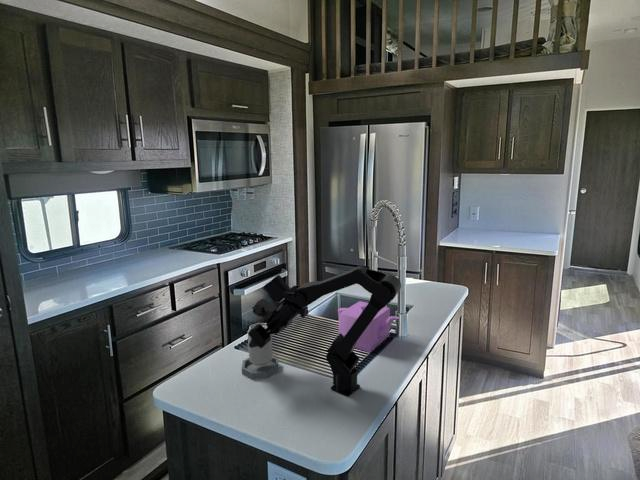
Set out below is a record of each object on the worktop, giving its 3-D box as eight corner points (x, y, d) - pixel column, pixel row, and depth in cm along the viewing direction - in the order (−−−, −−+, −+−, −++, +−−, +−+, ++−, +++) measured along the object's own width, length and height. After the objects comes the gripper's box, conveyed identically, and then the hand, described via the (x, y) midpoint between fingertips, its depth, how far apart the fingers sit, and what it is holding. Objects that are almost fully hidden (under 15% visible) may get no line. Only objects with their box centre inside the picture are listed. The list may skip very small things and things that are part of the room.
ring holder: (286, 367, 138) (285, 361, 137) (259, 382, 129) (259, 376, 128) (261, 356, 145) (261, 351, 144) (235, 370, 136) (234, 364, 136)
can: (261, 369, 131) (259, 333, 128) (244, 362, 135) (242, 327, 133) (277, 359, 137) (275, 324, 134) (260, 353, 141) (258, 319, 139)
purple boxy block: (389, 358, 143) (390, 320, 140) (327, 340, 157) (327, 304, 154) (407, 342, 155) (408, 305, 152) (348, 326, 169) (348, 292, 166)
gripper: (282, 284, 138) (255, 311, 145) (252, 303, 121) (222, 333, 128) (305, 310, 137) (276, 336, 143) (277, 333, 120) (246, 362, 126)
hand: (256, 341), depth 135 cm, fingers closed on can, 7 cm apart
